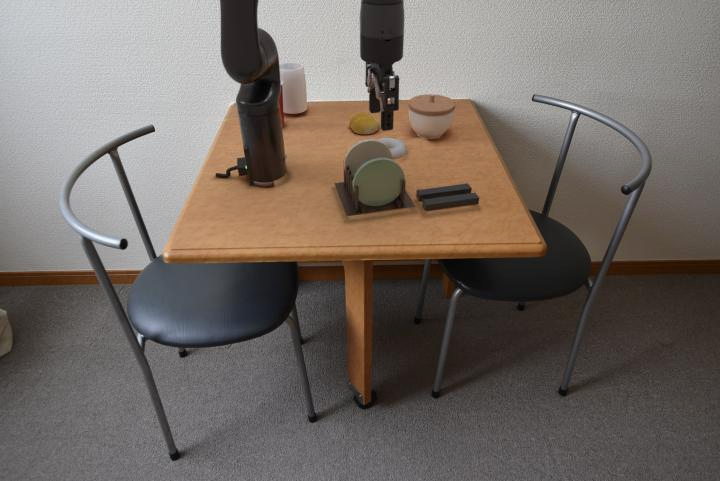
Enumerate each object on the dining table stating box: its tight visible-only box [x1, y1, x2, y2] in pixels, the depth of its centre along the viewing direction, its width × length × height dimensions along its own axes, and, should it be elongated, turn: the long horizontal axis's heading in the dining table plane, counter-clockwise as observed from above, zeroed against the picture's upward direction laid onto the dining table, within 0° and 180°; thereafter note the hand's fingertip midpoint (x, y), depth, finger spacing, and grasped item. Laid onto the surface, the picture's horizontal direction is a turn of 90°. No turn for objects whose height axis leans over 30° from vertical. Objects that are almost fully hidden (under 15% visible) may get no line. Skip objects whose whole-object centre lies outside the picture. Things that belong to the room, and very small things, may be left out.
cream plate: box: [343, 138, 394, 176], centre depth 105 cm, size 11×1×11 cm, turn 103°
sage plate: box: [352, 158, 406, 206], centre depth 98 cm, size 11×1×11 cm, turn 103°
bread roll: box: [348, 112, 380, 135], centre depth 135 cm, size 8×9×4 cm
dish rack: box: [334, 160, 416, 217], centre depth 104 cm, size 15×14×8 cm
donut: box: [376, 137, 408, 160], centre depth 122 cm, size 10×4×10 cm
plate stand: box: [415, 183, 480, 212], centre depth 103 cm, size 12×6×3 cm, turn 103°
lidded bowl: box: [407, 93, 456, 140], centre depth 130 cm, size 13×13×11 cm
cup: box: [279, 61, 308, 115], centre depth 143 cm, size 8×8×14 cm
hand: (380, 120), depth 90 cm, fingers open, 8 cm apart
